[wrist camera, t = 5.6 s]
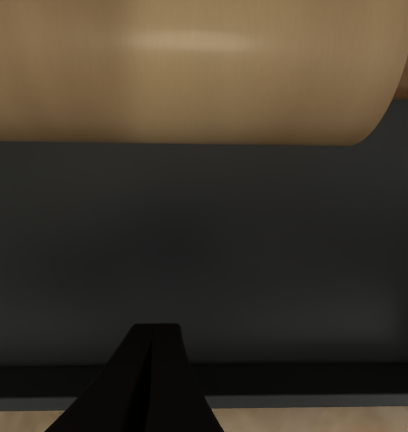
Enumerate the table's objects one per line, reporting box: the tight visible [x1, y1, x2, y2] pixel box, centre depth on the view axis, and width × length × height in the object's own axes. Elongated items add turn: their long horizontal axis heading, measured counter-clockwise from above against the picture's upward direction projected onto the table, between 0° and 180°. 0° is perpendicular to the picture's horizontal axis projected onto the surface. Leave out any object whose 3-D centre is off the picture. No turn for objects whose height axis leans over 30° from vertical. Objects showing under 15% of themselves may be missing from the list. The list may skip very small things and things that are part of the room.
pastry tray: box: [0, 100, 408, 411], centre depth 11 cm, size 21×15×2 cm
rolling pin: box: [0, 0, 408, 146], centre depth 8 cm, size 18×4×4 cm, turn 89°
